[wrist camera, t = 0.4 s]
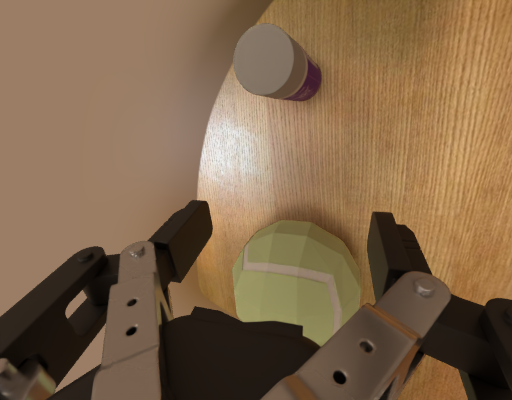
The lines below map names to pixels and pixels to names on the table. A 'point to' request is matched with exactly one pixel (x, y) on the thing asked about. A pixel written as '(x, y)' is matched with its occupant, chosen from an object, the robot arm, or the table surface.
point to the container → (275, 65)
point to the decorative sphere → (297, 279)
